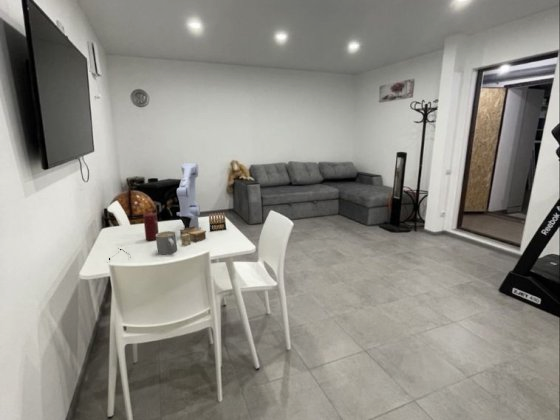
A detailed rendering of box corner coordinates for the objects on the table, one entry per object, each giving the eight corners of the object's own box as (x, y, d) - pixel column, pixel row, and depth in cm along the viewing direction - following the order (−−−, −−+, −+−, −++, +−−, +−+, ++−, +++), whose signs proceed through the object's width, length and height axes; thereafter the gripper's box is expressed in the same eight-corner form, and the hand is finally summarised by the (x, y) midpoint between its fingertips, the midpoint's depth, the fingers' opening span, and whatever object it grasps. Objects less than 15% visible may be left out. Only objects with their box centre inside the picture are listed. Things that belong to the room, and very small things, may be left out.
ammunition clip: (226, 229, 199) (224, 211, 196) (226, 229, 197) (225, 212, 194) (209, 230, 195) (208, 213, 192) (210, 231, 194) (208, 213, 191)
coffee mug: (156, 250, 164) (154, 233, 162) (174, 246, 169) (172, 229, 167) (161, 258, 153) (158, 240, 151) (180, 254, 158) (178, 236, 156)
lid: (180, 231, 182) (179, 227, 181) (190, 228, 188) (189, 224, 187) (196, 235, 174) (195, 231, 173) (206, 232, 180) (205, 228, 179)
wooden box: (180, 238, 183) (179, 232, 182) (190, 234, 189) (189, 228, 188) (196, 242, 175) (195, 235, 174) (205, 238, 181) (205, 232, 180)
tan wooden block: (186, 243, 174) (185, 233, 173) (190, 244, 172) (189, 234, 171) (181, 245, 172) (180, 235, 170) (185, 246, 170) (184, 236, 168)
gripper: (171, 206, 181) (174, 228, 184) (187, 209, 173) (189, 231, 176) (181, 204, 186) (183, 225, 190) (196, 207, 178) (198, 228, 182)
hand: (187, 228), depth 183 cm, fingers closed
